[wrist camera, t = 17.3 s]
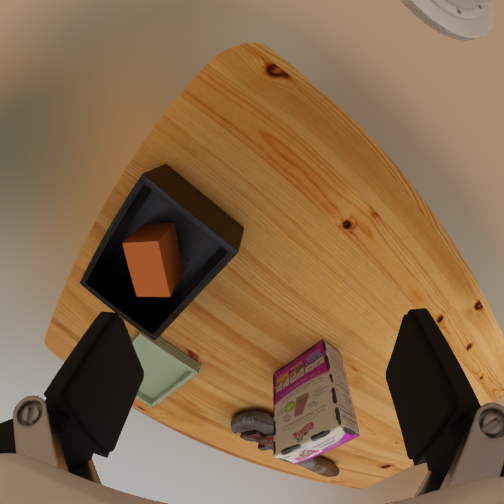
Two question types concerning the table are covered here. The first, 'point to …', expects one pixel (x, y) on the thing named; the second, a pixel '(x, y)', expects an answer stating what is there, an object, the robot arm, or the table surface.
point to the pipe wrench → (262, 431)
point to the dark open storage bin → (189, 240)
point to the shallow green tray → (161, 368)
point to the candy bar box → (312, 405)
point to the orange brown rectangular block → (154, 260)
